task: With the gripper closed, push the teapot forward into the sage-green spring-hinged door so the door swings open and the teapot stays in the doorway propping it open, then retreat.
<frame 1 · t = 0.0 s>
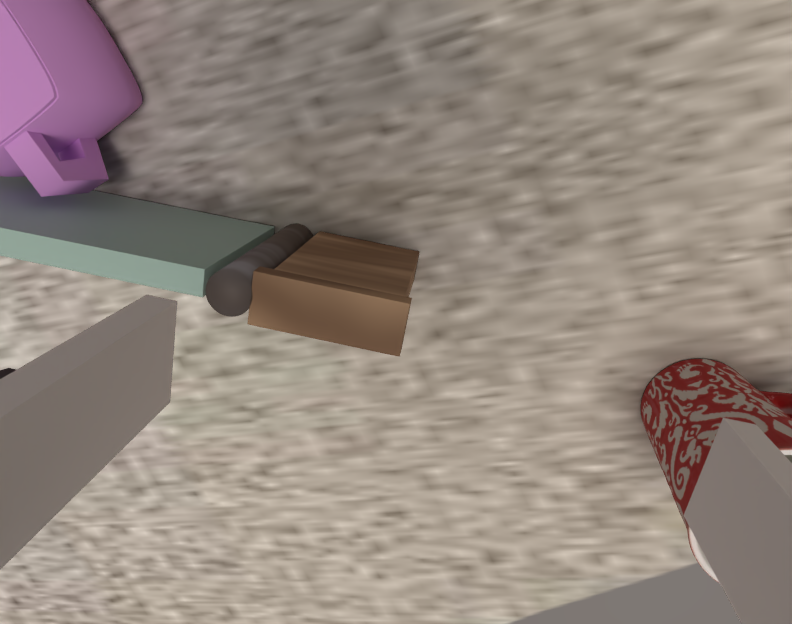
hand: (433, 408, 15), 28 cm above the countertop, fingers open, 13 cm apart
doorframe: (296, 240, 43), on the countertop
mug: (716, 397, 43), on the countertop
teapot: (48, 61, 41), on the countertop
door: (84, 237, 38), point 6 cm above the countertop, hinge at 0.4°
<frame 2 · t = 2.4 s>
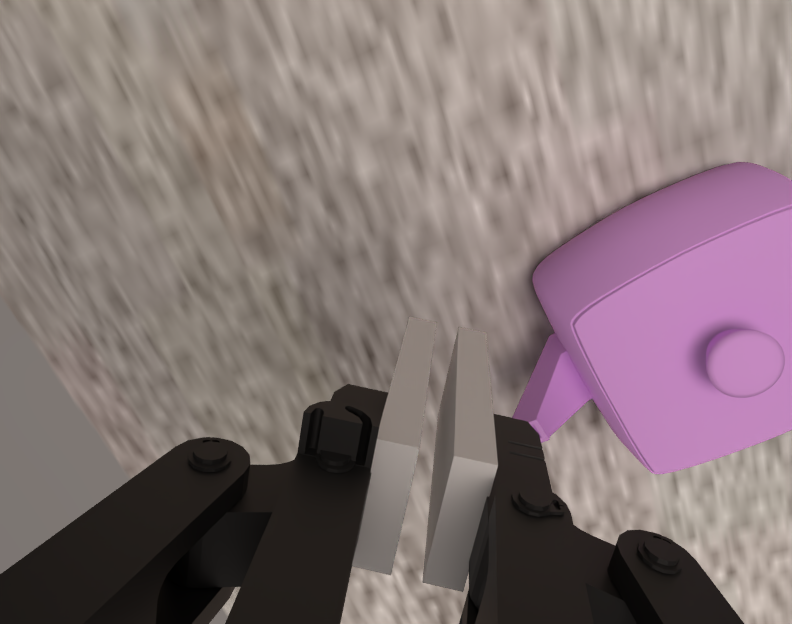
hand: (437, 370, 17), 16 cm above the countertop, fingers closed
teapot: (655, 291, 32), on the countertop
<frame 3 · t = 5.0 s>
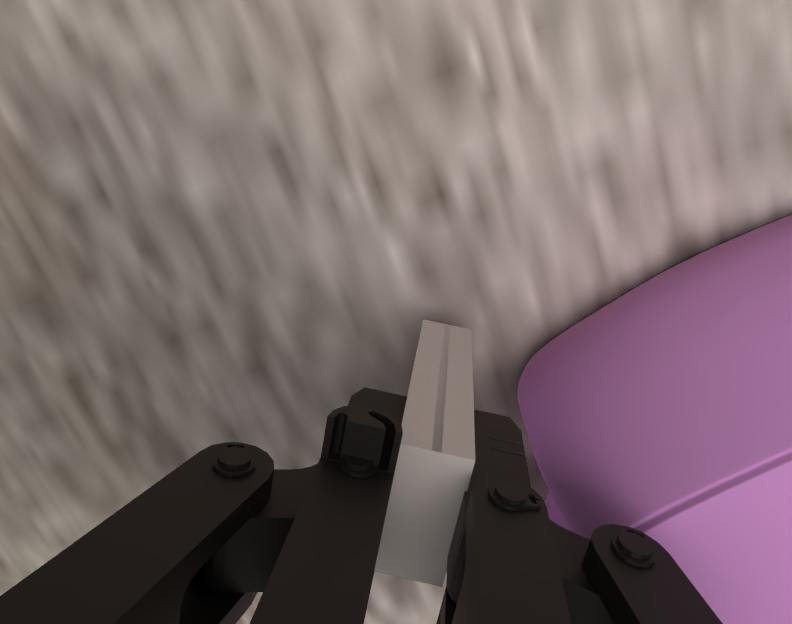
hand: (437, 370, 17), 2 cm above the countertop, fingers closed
teapot: (732, 402, 19), on the countertop, touching door, gripper
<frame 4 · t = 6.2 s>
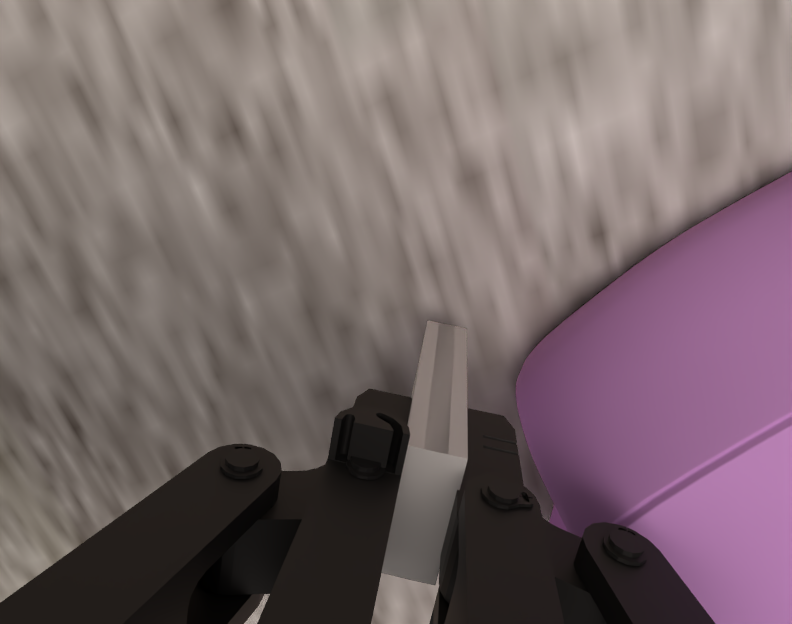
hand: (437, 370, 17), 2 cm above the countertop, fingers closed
teapot: (740, 377, 18), on the countertop, touching door, gripper
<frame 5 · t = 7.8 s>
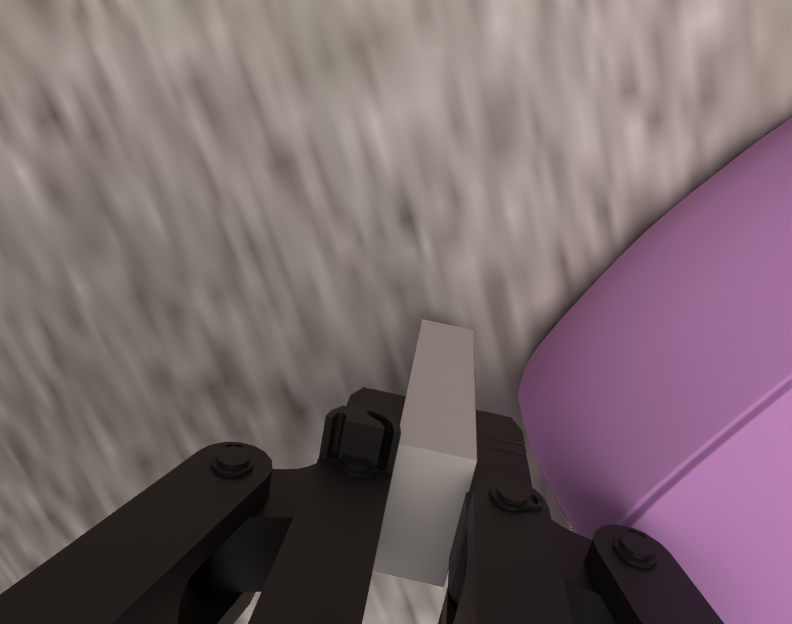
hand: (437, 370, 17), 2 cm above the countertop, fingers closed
teapot: (743, 352, 18), on the countertop, touching door, gripper
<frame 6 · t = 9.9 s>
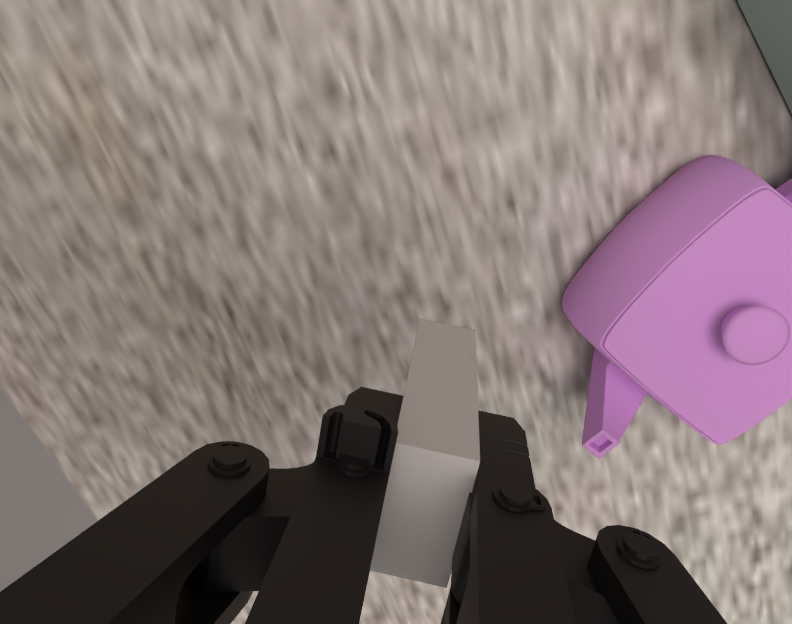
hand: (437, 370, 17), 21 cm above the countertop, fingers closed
teapot: (673, 281, 36), on the countertop
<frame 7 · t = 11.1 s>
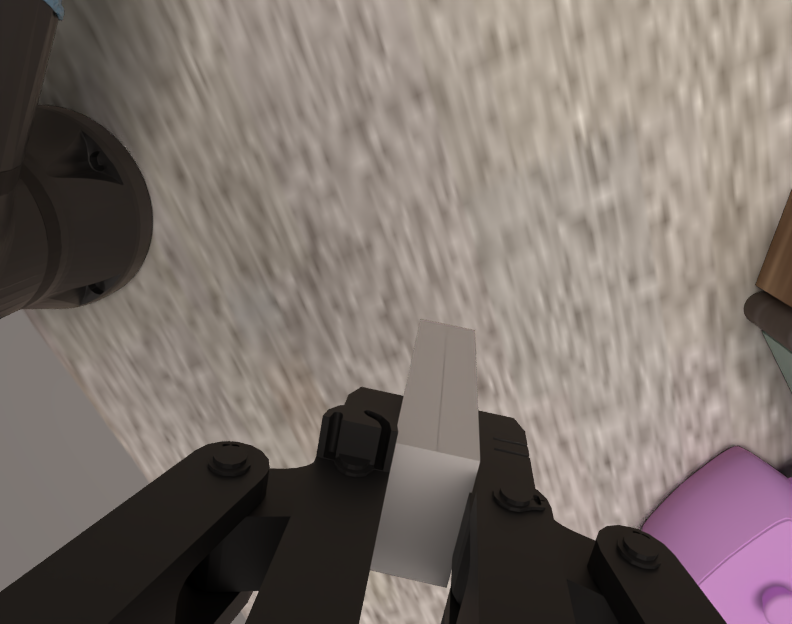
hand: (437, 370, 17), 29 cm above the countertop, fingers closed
doorframe: (761, 307, 44), on the countertop
teapot: (721, 518, 50), on the countertop
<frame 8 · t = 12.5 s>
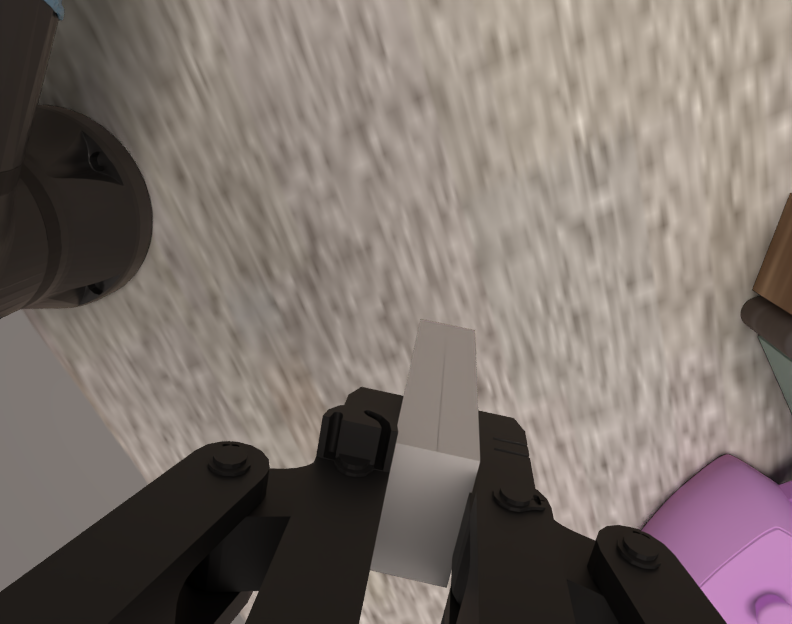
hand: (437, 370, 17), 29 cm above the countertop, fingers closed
doorframe: (758, 312, 45), on the countertop
teapot: (715, 525, 51), on the countertop
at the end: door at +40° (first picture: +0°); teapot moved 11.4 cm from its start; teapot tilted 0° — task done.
